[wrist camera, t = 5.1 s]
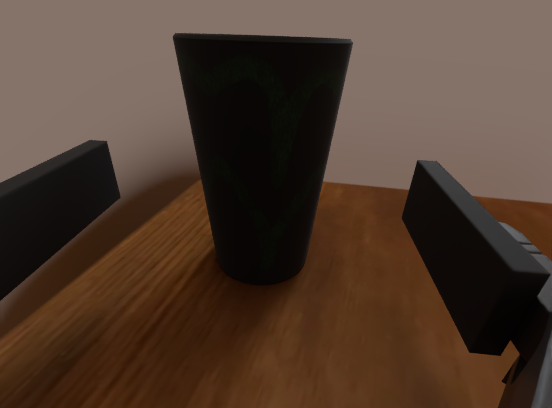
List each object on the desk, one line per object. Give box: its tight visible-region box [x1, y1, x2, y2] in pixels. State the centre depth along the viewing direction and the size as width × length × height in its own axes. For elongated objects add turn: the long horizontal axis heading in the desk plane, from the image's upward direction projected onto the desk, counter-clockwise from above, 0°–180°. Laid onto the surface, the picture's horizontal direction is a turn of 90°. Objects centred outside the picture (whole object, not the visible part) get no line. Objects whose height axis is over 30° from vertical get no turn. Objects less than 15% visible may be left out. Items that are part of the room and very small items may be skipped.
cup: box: [173, 33, 353, 284], centre depth 16 cm, size 8×8×12 cm
